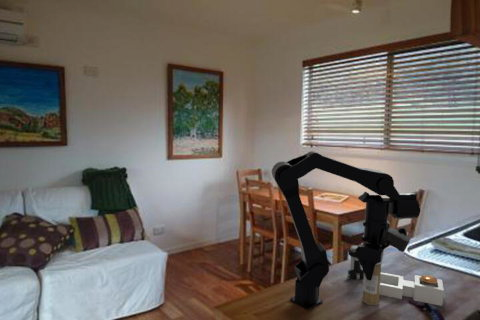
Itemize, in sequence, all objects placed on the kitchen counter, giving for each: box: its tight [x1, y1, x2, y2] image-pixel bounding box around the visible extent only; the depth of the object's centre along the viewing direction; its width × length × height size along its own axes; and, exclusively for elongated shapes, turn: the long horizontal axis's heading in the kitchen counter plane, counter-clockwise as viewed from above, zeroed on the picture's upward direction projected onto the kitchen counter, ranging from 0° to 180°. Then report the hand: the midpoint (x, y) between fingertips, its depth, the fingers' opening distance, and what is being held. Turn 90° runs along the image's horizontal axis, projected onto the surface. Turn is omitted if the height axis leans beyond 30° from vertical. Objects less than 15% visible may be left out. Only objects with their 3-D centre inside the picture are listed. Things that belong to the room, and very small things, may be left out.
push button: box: [343, 244, 364, 281], centre depth 115 cm, size 7×5×10 cm
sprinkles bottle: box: [361, 260, 383, 306], centre depth 101 cm, size 5×5×14 cm
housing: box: [379, 271, 445, 307], centre depth 107 cm, size 19×9×4 cm, turn 65°
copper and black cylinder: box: [420, 274, 438, 287], centre depth 104 cm, size 4×4×6 cm
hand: (372, 273), depth 101 cm, fingers open, 9 cm apart
